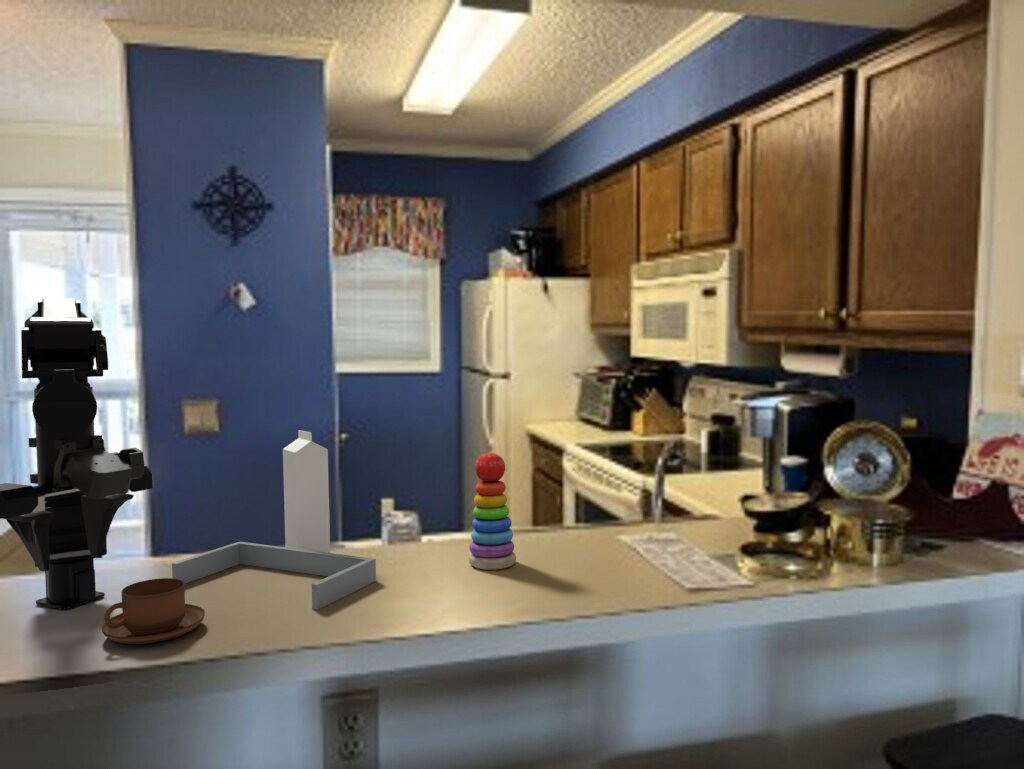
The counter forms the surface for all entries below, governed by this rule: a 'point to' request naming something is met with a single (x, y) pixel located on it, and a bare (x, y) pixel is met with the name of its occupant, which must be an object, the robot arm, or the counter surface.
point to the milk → (306, 495)
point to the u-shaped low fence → (286, 567)
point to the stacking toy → (491, 517)
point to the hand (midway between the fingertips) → (70, 563)
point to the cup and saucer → (152, 613)
